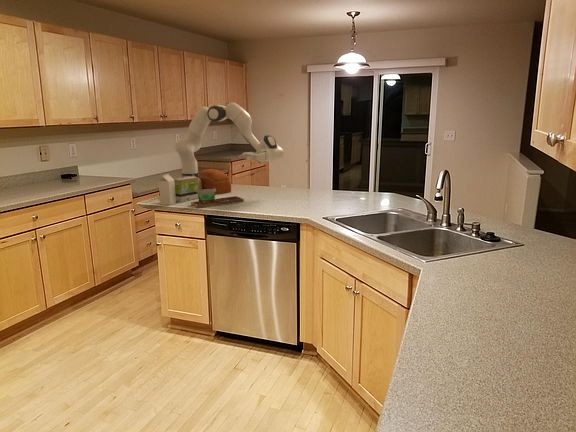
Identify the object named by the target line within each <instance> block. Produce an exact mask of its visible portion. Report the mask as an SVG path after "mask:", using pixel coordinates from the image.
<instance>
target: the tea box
mask: <svg viewBox="0 0 576 432" xmlns="http://www.w3.org/2000/svg"><path fill="white" fill-rule="evenodd" d="M172 178H173V177H172ZM173 179H174V182H175V195H176V202H179V203H180V202H181V203H183V202H188V201H192V200H194V201H195V200H199V199H198V193H197V192H196V190H197V189H199V183H198V177H192V176H187V177H181V176H180V177H174V178H173Z"/></svg>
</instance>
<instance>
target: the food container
mask: <svg viewBox="0 0 576 432" xmlns="http://www.w3.org/2000/svg"><path fill="white" fill-rule="evenodd" d="M196 192H197V193H198V199H197V200H198V201H199V204H207V203H214V202H215V199H216V194H215V192H216V189H215V188H214V189H203V190H199V189H197V190H196Z"/></svg>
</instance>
